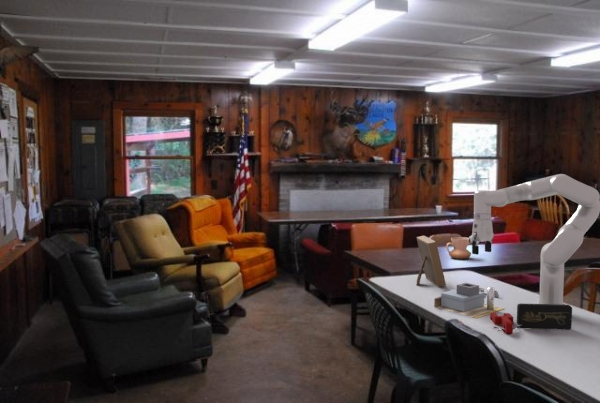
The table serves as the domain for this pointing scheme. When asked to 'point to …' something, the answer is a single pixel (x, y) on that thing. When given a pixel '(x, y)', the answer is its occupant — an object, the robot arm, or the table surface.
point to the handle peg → (490, 298)
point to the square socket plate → (463, 297)
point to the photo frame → (430, 261)
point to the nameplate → (544, 316)
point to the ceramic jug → (459, 248)
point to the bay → (472, 313)
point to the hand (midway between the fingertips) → (481, 252)
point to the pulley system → (486, 294)
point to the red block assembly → (503, 322)
